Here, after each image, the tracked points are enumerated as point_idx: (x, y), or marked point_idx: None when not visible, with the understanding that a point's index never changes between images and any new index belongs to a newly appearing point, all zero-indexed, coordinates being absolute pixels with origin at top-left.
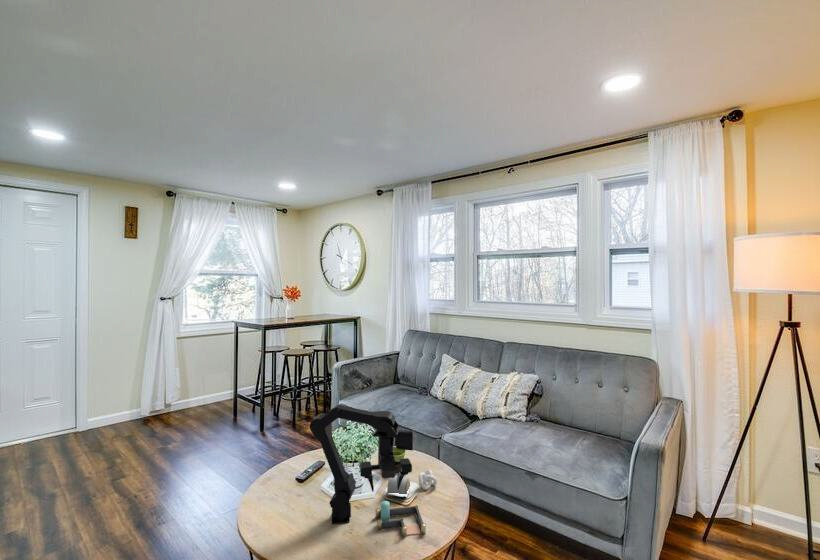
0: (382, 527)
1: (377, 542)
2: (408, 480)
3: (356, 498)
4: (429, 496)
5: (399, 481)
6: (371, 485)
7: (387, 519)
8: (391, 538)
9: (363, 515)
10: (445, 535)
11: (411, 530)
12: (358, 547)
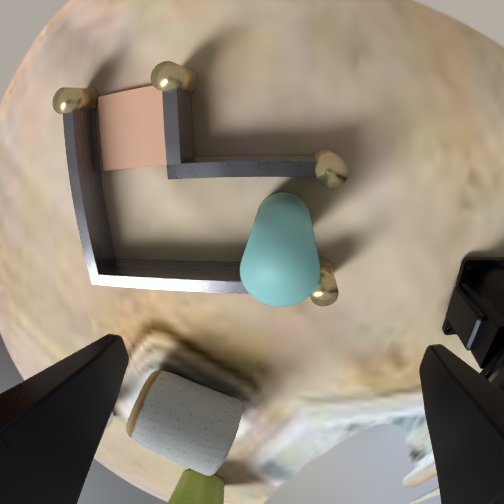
0: (309, 157)
1: (350, 52)
2: (127, 430)
3: (379, 402)
4: (75, 349)
5: (37, 392)
6: (498, 399)
7: (270, 203)
8: (263, 67)
9: (388, 298)
10: (20, 92)
11: (139, 117)
12: (447, 51)
